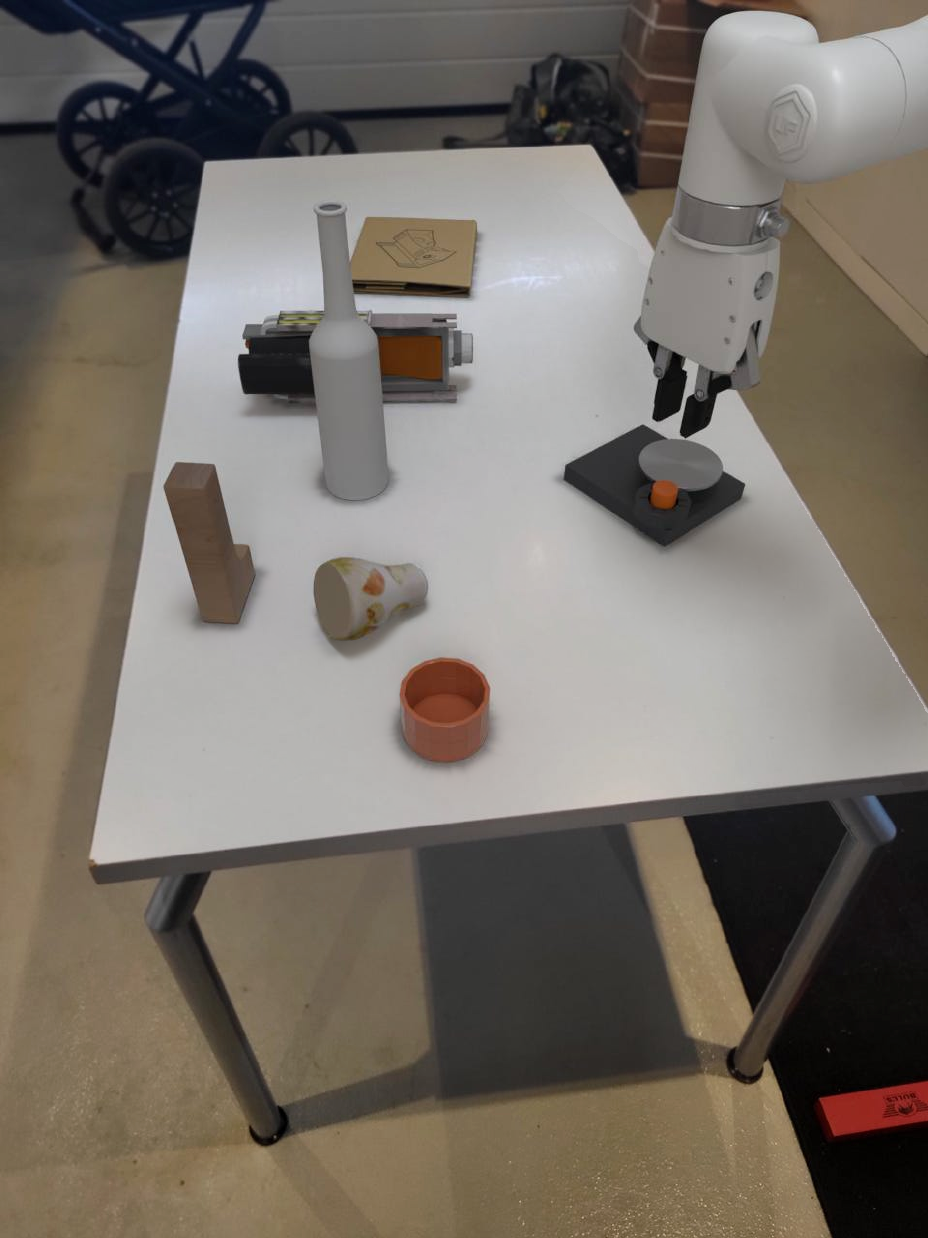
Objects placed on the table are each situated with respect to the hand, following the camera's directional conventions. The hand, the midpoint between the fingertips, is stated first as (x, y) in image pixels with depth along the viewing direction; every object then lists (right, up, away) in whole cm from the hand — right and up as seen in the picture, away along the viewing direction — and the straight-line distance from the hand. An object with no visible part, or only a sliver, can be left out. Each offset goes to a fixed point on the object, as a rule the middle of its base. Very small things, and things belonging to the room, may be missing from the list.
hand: (679, 422), depth 79 cm
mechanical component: (-31, +8, +25) cm, 41 cm away
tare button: (0, -6, +6) cm, 9 cm away
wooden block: (-41, -16, +1) cm, 44 cm away
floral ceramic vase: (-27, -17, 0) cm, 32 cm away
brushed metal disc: (+3, -2, +10) cm, 11 cm away
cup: (-21, -26, -9) cm, 35 cm away
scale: (0, -4, +13) cm, 14 cm away
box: (-26, +35, +51) cm, 67 cm away
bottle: (-31, -3, +14) cm, 34 cm away
